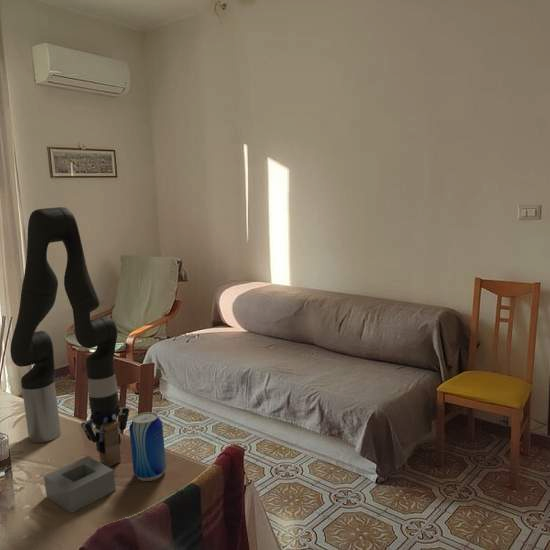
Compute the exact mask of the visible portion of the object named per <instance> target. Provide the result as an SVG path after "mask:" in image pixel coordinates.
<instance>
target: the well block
mask: <svg viewBox="0 0 550 550" xmlns="http://www.w3.org/2000/svg"><path fill="white" fill-rule="evenodd" d="M43 478H44V479H43V480H44V485H45V494H46V497H47V498H48V499H50V500H51V501H53V503H56V504H57V505H59V506H60V507H61V508H63V509H64V510H66V511H67V512H69V513H70V514H73V513H75V512H77V511H78V510H81V509H83V508H84V507H86V506H88V505H90V504H92V503H94V502H96V501H98V500H99V499H102V498H104V497H105V496H107V495H109V494H112V493H113V492H114V491H116V482H115V473H114V469H113V468H111V467H107V466H105V465H104V464H102V463H100V461H98V460H96V459H94V458H92V457H91V456H89V455H88V456H84V457H83V458H80V459H78V460H76V461H74V462H71V463H70V464H67V465H64V466H63V467H60V468H58V469H55V470H53V471H51V472H50V473H47V474H45V475H44V476H43Z"/></svg>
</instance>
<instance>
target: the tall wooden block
mask: <svg viewBox="0 0 550 550" xmlns="http://www.w3.org/2000/svg"><path fill="white" fill-rule="evenodd" d="M92 425H94V426H95V424H94V423H93V424H92ZM118 426H120V422H119V421H118V419H117V420H116V421H114V422H113V421H111V422H109V423H106V425H104V426H103V427H104V429H103V430H104V433H103V436H104V437H103V441H104V447H105V453H104V454H101V453H99V452H98V453H99V454H98V455H99V462H100V463H102V464H103V465H105V466H107V467H109V468H111V467H112V466H114V465H116V464H118V463H120V462H121V461H122V456H121V449H120V448H121V447H120V446H121V445H120V446H119V436H118ZM97 427H98V426H97ZM98 428H99V427H98ZM99 429H101V428H99Z"/></svg>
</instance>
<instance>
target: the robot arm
mask: <svg viewBox="0 0 550 550" xmlns="http://www.w3.org/2000/svg"><path fill="white" fill-rule="evenodd" d="M27 223H28V224H27V242H26V243H27V244H26V245H27V246H26V258H25V268H24V275H23V280H22V285H21V292H20V299H19V300H20V303H19V308H18V315H17V318H16V323H15V326H14V327H15V328H14V330H13V333H12V337H11V341H10V348H9V349H10V357H11V360H12V362H13V364H14V365H15V366H18V367H19V368H20V367H21V368H22V367H28V366H32V365H33V366H32V368H31V369H30V370H29V371H27V372H26V373H25V374H24V375H23V376H22V377H21V378H20V379H21V380H20V384H21V390H22V391H21V392H22V397H23V404H24V405H23V406H24V412H25V420H26V426H27V435H28V441H29V442H30V443H34V444H39V443H42V444H43V443H46V442H50V441H52V440H55V439H57V438H58V437H60V435H61V434H62V432H61V431H62V430H61V423H60V422H61V421H60V415H59V413H60V412H59V407H58V397H57V392H56V384H55V373H56V372H55V371H56V370H55V354H54V346H53V344H54V343H53V341H52V338H51V336H50V335H49V333H48V332H47V331H44V330H39V331H38V330H37V328H38V327H39V325H40V324H41V322H42V321H44V319H45V317H46V316H47V315H48V314H49V313H50V311H51V310H52V308H53V307H54V305H55V302H56V300H57V299H56V298H57V294H58V288H59V282H58V281H59V280H58V277H57V275H56V273H55V271H54V270H53V269H52V267H51V265H50V263H49V261H48V259H47V257H48V248H49V245H50V244H51V243H57V242H62V243H63V245H64V247H65V250H66V267H65V272H64V276H63V277H64V279H63V287H64V291H65V292H66V293H65V295H66V296H67V299H68V301H69V304H70V306H71V308H72V315H73V326H74V335H75V339H76V341H77V343H78V344H79V345H80V346H81V347H82V348H84V349H87V350H88V349H94V348H96V349H95V350H94V351H93V352H92V353H91V354H89V355H88V356H87V358H86V360H85V364H86V365H85V366H86V374H87V376H86V377H87V392H88V400H89V401H88V402H89V409H90V413H91V414H90V417H89V419H88V420H87V421H86V422H85V421H83V422H81V423H80V426H81V428H82V430H83V432H84V433H85V435H86V437H87V440H88V441H91V442H93V443H95V445H96V451H97V452H98V453H101V454H104V453H105V447H104V441H103V437H104V436H103V433H104V430H103V429H104V427H103V426H104V425H106V423H109V422H111V421H113V422H114V421H116V420H117V421H119V422H120V426H118V436H119V446H121V442H122V440H121V439H122V438H121V433H122V431H123V430H124V431H125V430H126V428H127V423H128V418H129V413H130V408H127V407H126V406H123V405H122V406H121V407H120V406H119V404H120V402H119V401H120V400H119V392H118V383H117V378H116V372H115V362H114V357H115V353H116V345H117V339H118V328H117V324H116V322H115V321H114V320H113V319H112V318H111V317H109V316H102V317H99V318H98V317H97V318H95V319H91V313H92V312H93V311H96V310H97V309H98V308H99V307H100V300H99V298H98V296H97V292H96V289H95V287H94V284H93V282H92V280H91V276H90V274H89V270H88V267H87V263H86V259H85V258H86V257H85V253H84V248H83V244H82V239H81V235H80V231H79V227H78V222H77V220H76V217H75V215H74V213H73V212H72V211H71V209H69V208H67V207H64V206H63V207H62V206H60V207H59V206H58V207H48V208H47V207H46V208H38V209H35V210H34V211H32V212H31V213H30V215H29V219H28V222H27ZM36 330H37V331H36ZM93 423H94V424H95V425H94V424H93ZM93 425H94V427H93ZM97 426H98V427H99V428H101V429H99V428H98V427H97ZM93 428H94V431H93Z"/></svg>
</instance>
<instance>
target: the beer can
mask: <svg viewBox="0 0 550 550" xmlns="http://www.w3.org/2000/svg"><path fill="white" fill-rule="evenodd" d="M131 421H132V422H130V425H129V428H128V429H129V440H130V450H131V458H132V459H131V460H132V468H133V469H132V470H133V475H134V476H135V477H137V479H138V480H139V481H143V482H150V481H155V480H157V479H160V478H161V477H162V476H163V475H164V472H165V471H166V469H167V462H166V449H165V440H164V439H165V438H164V428H163V422H162V420H161V419H160V418H159V415H158V413H156V412H151V411H147V412H141V413H138V414H136V415H134V416H133V417H132V418H131Z"/></svg>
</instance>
